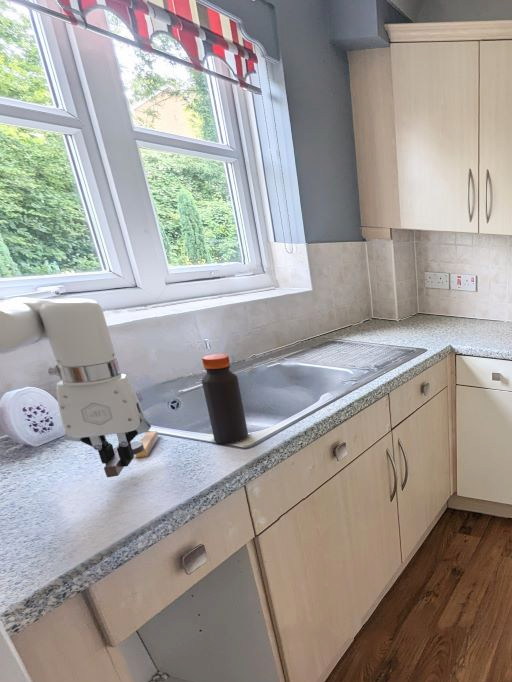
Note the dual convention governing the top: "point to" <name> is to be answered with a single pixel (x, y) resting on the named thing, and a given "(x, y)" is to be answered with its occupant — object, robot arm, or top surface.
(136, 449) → the spoon
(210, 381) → the bottle
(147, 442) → the wooden bar
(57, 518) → the top surface
